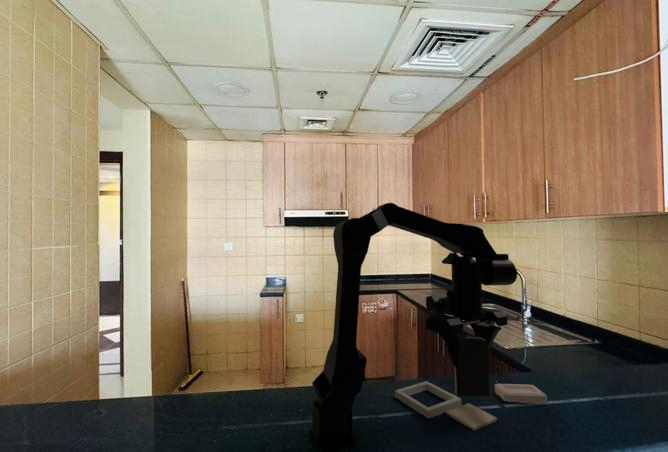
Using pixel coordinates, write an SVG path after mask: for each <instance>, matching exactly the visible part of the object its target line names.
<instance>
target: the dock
mask: <svg viewBox="0 0 668 452" xmlns="http://www.w3.org/2000/svg"><path fill="white" fill-rule="evenodd" d="M425 391H428V392H430V393H431V394H434V395H435V396H437V397H439V398H441V399H442V400H444V401H443V402H440V403H437V404H434V405H431V406H429V407H428V406H426V405H425V404H423V403H421V402H420V401H419V400H416V399H415V398H414V397H412V395H416V394H419V393H421V392H425ZM394 395H395V397H394V398H396V400H397V399H398V400H399V401H401V402H402V403H403V404H404V405H406V406H408V407H410V408H411V409H412V410H414V411H416V412H417V413H419V414H420V415H421V416H423V415H424V416H423V417H425V418H426V417H427V419H428V420H429V418H430V419H432V418H435V417H437V416H440V415H442V413H443V414H444V412H445V413H446V412H447V411H449V410H452V409H455V408H458V407H460V406H463V404H462V398H460V396H458V395H456V394H453V393H451V392H449V391H446V390H445V389H443V388H442V387H441V388H440V387H439V386H437V385H435V384H433V383H431V382H429V381H427V380H426V381H422V382H419V383H415V384H413V385H409V386H405V387H403V388H399V389H396V390H395V394H394ZM434 416H435V417H434ZM431 417H432V418H431Z"/></svg>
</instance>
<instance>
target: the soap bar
mask: <svg viewBox="0 0 668 452" xmlns="http://www.w3.org/2000/svg"><path fill="white" fill-rule="evenodd" d="M494 393H495V394H496V395H497V396H498V395H499V396H500V397H501V398H502V399H503V400H504V401H507V402H519V403H530V404H529V405H536V404H535V403H540V404H539V405H545V404H546V405H547V404H548V396H547V394H545V393H544V392H543V391H542V390H540V389H539V388H538V387H536V386H535V385H534V384H520V383H519V384H516V383H514V384H513V383H495V384H494ZM499 396H498V397H499ZM500 397H499V398H500ZM501 398H500V399H501ZM502 399H501V400H502ZM503 400H502V401H503ZM504 401H503V402H504ZM519 403H518V404H519ZM533 403H534V404H533ZM541 403H542V404H541Z"/></svg>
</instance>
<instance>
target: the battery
mask: <svg viewBox="0 0 668 452" xmlns="http://www.w3.org/2000/svg"><path fill="white" fill-rule="evenodd" d="M466 335H467V336H466V341H465V345H464V350H463V354H462V359H461V363H460V366H459V367H456V366H454V365H453V364H452V365H453V377H454V379H453V382H454V383H453V391H454V394H455V396H457V397H463V398H466V397H467V398H468V397H469V398H481V397H482V398H483V397H484V398H485V397H491V387H490V386H491V385H490V384H491V383H490V380H491V379H490V373H491V372H490V370H491V369H490V368H491V367H490V366H491V365H490V361H491V359H490V348H489V346H488V343H487V342H486V340H485V339H483V338H481V337H479V336H475V334H466Z"/></svg>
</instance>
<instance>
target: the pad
mask: <svg viewBox="0 0 668 452" xmlns="http://www.w3.org/2000/svg"><path fill="white" fill-rule="evenodd" d="M445 413H446V415H447V416H448V415H449V416H448V417H449V418H450V417H451V418H452V419H453V420H455V421H457V422H459V423H460V424H462V425H463V426H465V427H467V428H469V430H472V431H477V430H479V429H482V428H484V427H486V426H488V425H491V424H492V423H495V422H497V421H498V418H497V417H496V416H494V415H492V414H490V413H489V412H486V411H484V410H482V409H480V408H478V407H477V406H475V405H473V404H471V403H469V402H468V403H465V404H462V406H460V407H458V408H455V409H452V410H450V411H447V412H445Z"/></svg>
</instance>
